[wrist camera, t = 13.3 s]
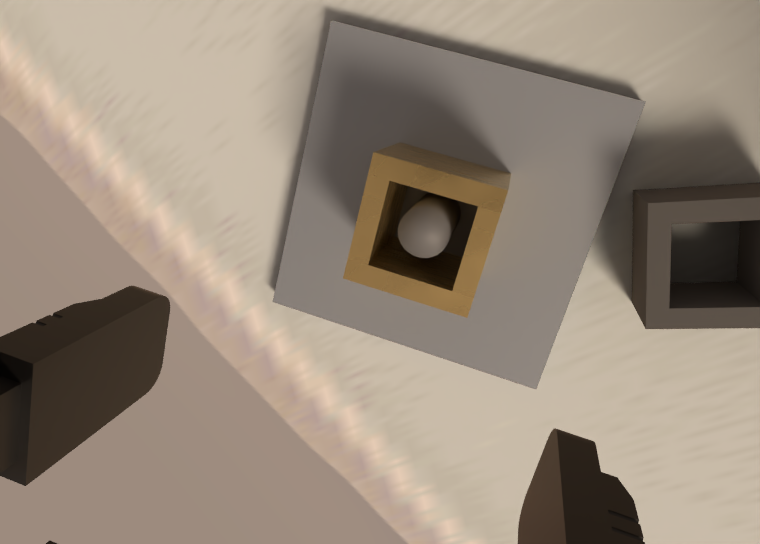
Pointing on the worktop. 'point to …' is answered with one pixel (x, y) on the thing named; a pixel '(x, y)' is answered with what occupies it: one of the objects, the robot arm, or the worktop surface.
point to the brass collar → (382, 212)
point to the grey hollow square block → (653, 258)
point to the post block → (448, 216)
